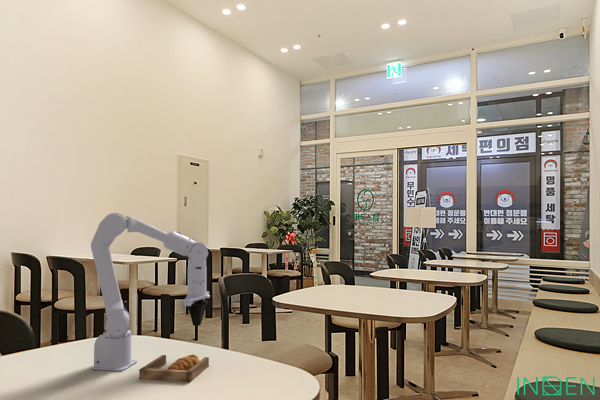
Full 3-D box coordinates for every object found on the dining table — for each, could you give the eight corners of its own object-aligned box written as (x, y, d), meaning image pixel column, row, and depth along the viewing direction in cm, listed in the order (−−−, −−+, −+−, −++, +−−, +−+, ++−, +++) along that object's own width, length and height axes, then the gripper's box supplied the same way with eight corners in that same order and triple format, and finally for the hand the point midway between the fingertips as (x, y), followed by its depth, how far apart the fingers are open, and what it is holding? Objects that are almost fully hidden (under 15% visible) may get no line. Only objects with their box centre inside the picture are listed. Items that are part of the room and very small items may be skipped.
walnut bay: (139, 379, 110) (139, 369, 111) (162, 363, 122) (162, 354, 123) (190, 382, 108) (190, 372, 108) (208, 366, 120) (208, 357, 120)
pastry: (177, 380, 110) (177, 365, 110) (160, 375, 114) (160, 361, 114) (203, 369, 118) (203, 355, 118) (186, 365, 122) (186, 351, 122)
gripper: (199, 284, 122) (199, 331, 122) (217, 277, 137) (217, 320, 136) (177, 284, 124) (176, 330, 123) (197, 277, 138) (197, 319, 137)
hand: (196, 325), depth 130 cm, fingers closed
